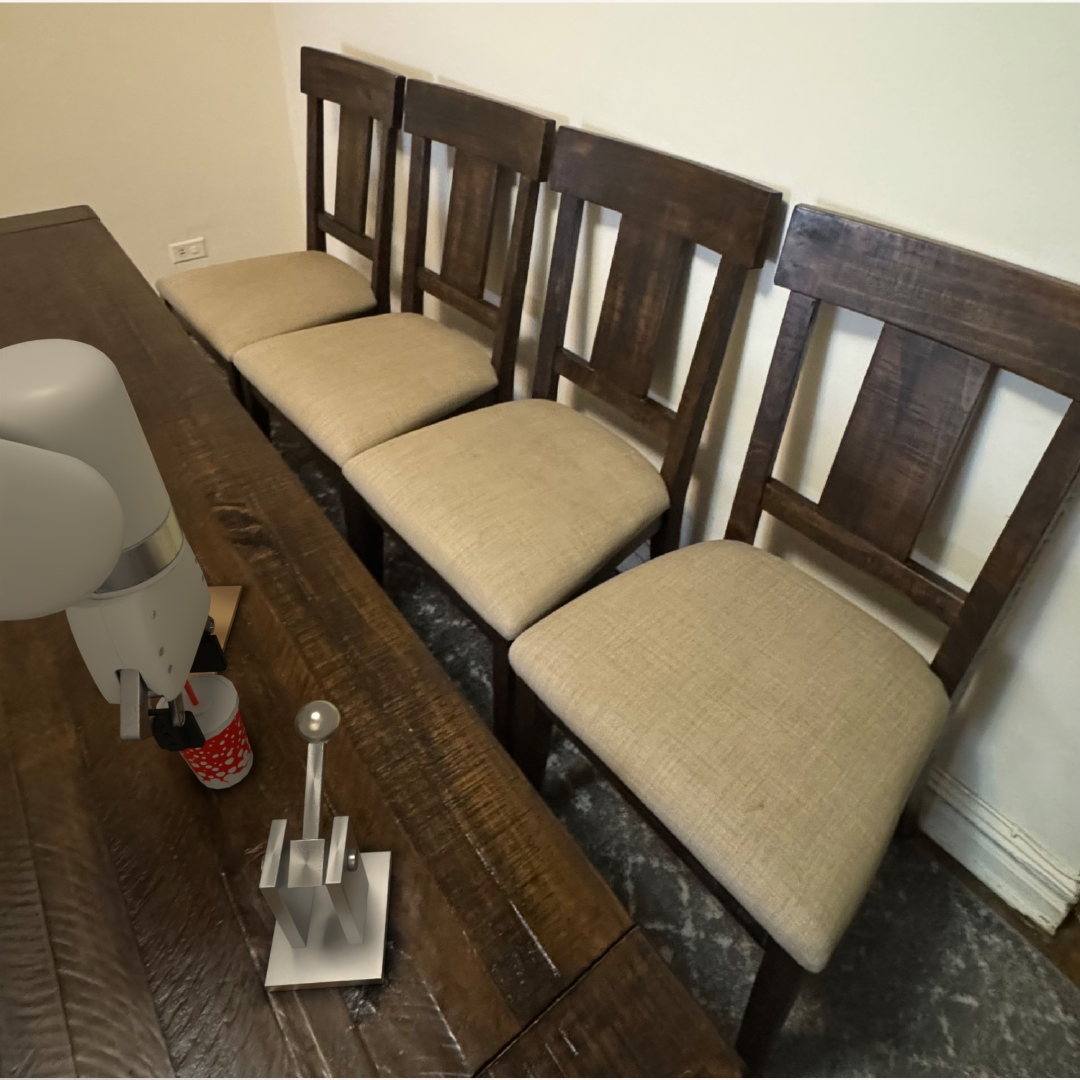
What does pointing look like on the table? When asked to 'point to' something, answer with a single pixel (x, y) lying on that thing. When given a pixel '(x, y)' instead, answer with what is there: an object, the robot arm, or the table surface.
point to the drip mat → (223, 612)
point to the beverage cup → (216, 731)
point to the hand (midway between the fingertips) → (196, 704)
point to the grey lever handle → (313, 794)
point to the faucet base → (327, 914)
